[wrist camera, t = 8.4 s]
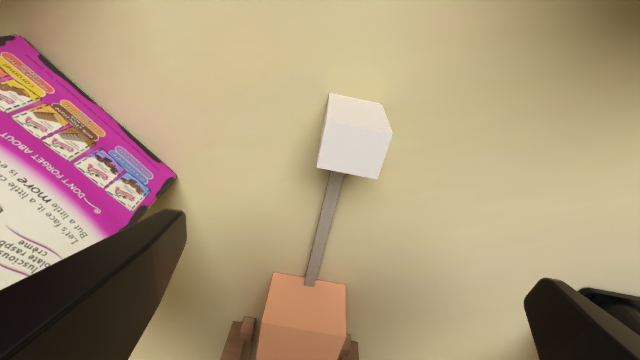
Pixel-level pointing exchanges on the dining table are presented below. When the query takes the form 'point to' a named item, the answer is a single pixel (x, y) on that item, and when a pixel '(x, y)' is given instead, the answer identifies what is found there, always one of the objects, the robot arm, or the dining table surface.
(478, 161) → the dining table surface
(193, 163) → the dining table surface
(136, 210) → the candy bar box
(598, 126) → the dining table surface
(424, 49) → the dining table surface
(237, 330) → the walnut shelf
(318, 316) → the tethered block
